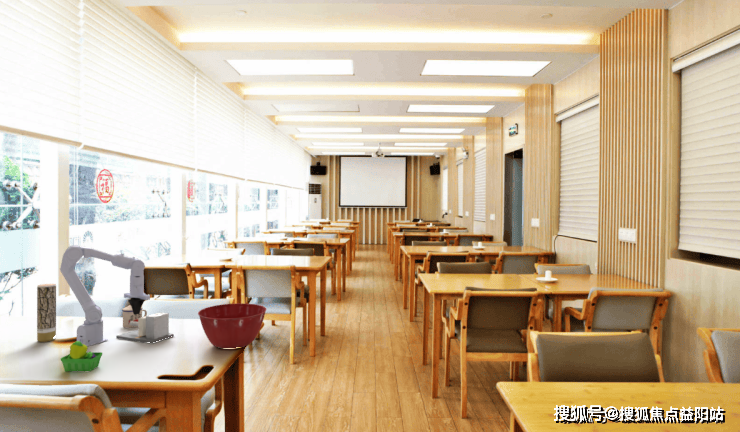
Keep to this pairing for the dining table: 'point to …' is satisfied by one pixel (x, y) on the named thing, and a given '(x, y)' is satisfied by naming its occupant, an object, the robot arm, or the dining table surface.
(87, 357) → the fruit basket
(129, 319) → the teacup with lid
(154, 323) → the pipe stand
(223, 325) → the mixing bowl
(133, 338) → the base plate
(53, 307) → the paper tube
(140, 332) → the collar
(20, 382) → the dining table surface
